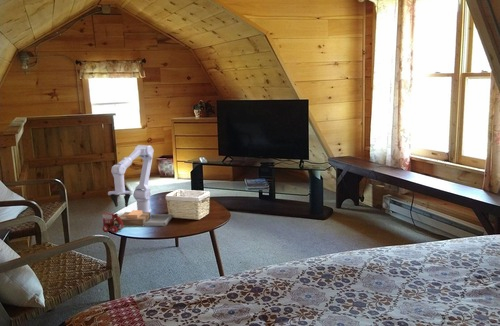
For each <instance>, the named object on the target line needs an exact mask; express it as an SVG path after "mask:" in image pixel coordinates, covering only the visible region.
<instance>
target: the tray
mask: <svg viewBox="0 0 500 326" xmlns="http://www.w3.org/2000/svg"><path fill="white" fill-rule="evenodd" d="M150 216H151V218H150V219H149V220H148V221H147V222H144V226H143V227H166V226H167V225H168V224H169V223H170V221H172V219H173V218H172V214H168V213H167V214H166V213H164V214H163V213H161V214H159V213H158V214H155V213H154V214H153V213H152V214H151V213H150Z"/></svg>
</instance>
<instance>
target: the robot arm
mask: <svg viewBox="0 0 500 326" xmlns="http://www.w3.org/2000/svg"><path fill="white" fill-rule="evenodd" d="M154 151H155V150H154V148H153V146H152V145H143V144H137V146H135V147H134V150H133V151H132V152H131V153H130V155H128V156H125V157H123V158H122V159H121V160H120V161H119V162H117V163H116V164H114V165H113V166H111V170H110V171H111V174H112V177H113V181H114V190H112V191H111V190H110V191H107V195H108V196H110V199H111V201H112V202H113V204H114V207H116V208H117V207H118V206H119V205H118V204H119V203H118V196H123V199H124V205H125V208H127V207H128V206H129V202H130V198H131V196H132V195H133V198H134V199H135V201H136V209H137V210H142V212H150V213H151V212H152V211H153V209H151V202H150V198H151V188H150V187H149V180H150V174H151V168H152V165H153V164H152V163H153V157H154ZM138 157H139V158H140V159H142V161H143V162H142V167H141V172H140V178H139V183H138V184H137V185H136V186H135V189H134V191H133V190H126V187H125V185H126V184H125V173H126V171H127V169H128V168H129V167H130V166H131V165H132V164H133V163H132V162H133V161H134V160H136V159H137V158H138Z"/></svg>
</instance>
